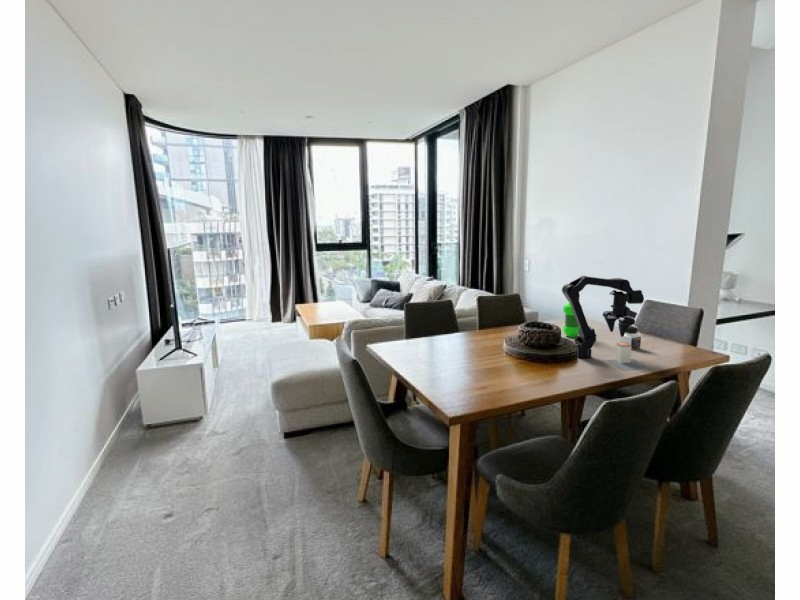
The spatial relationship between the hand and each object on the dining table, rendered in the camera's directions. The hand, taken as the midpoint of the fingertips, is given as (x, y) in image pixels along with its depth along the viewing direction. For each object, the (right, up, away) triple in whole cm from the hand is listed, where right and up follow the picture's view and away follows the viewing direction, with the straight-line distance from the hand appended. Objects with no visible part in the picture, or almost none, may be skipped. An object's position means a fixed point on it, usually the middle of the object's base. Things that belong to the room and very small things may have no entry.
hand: (616, 334), depth 207 cm
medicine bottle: (+15, -9, +15) cm, 23 cm away
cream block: (-1, -13, -7) cm, 15 cm away
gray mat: (-1, -14, -11) cm, 18 cm away
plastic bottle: (-5, -5, +42) cm, 43 cm away
